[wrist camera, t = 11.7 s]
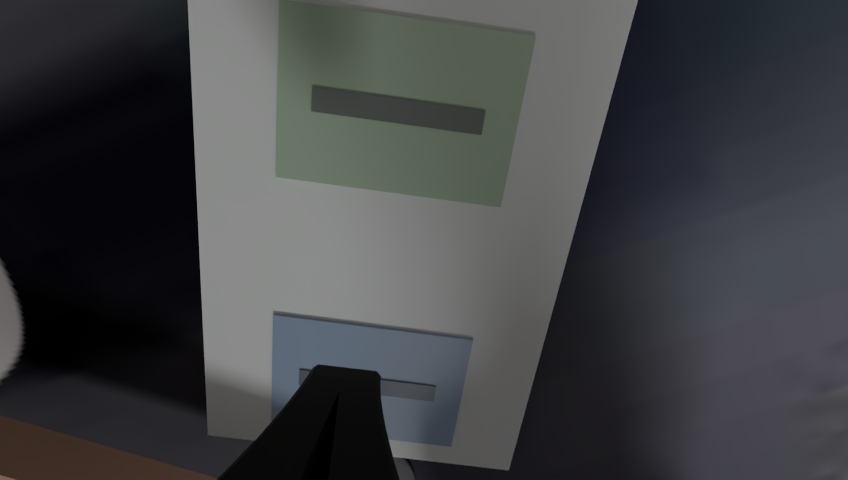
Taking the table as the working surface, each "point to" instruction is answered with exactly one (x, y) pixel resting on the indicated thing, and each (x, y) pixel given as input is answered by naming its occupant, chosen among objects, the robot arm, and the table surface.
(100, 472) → the swing bar
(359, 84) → the label panel
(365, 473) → the robot arm
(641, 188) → the table surface
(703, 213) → the table surface
